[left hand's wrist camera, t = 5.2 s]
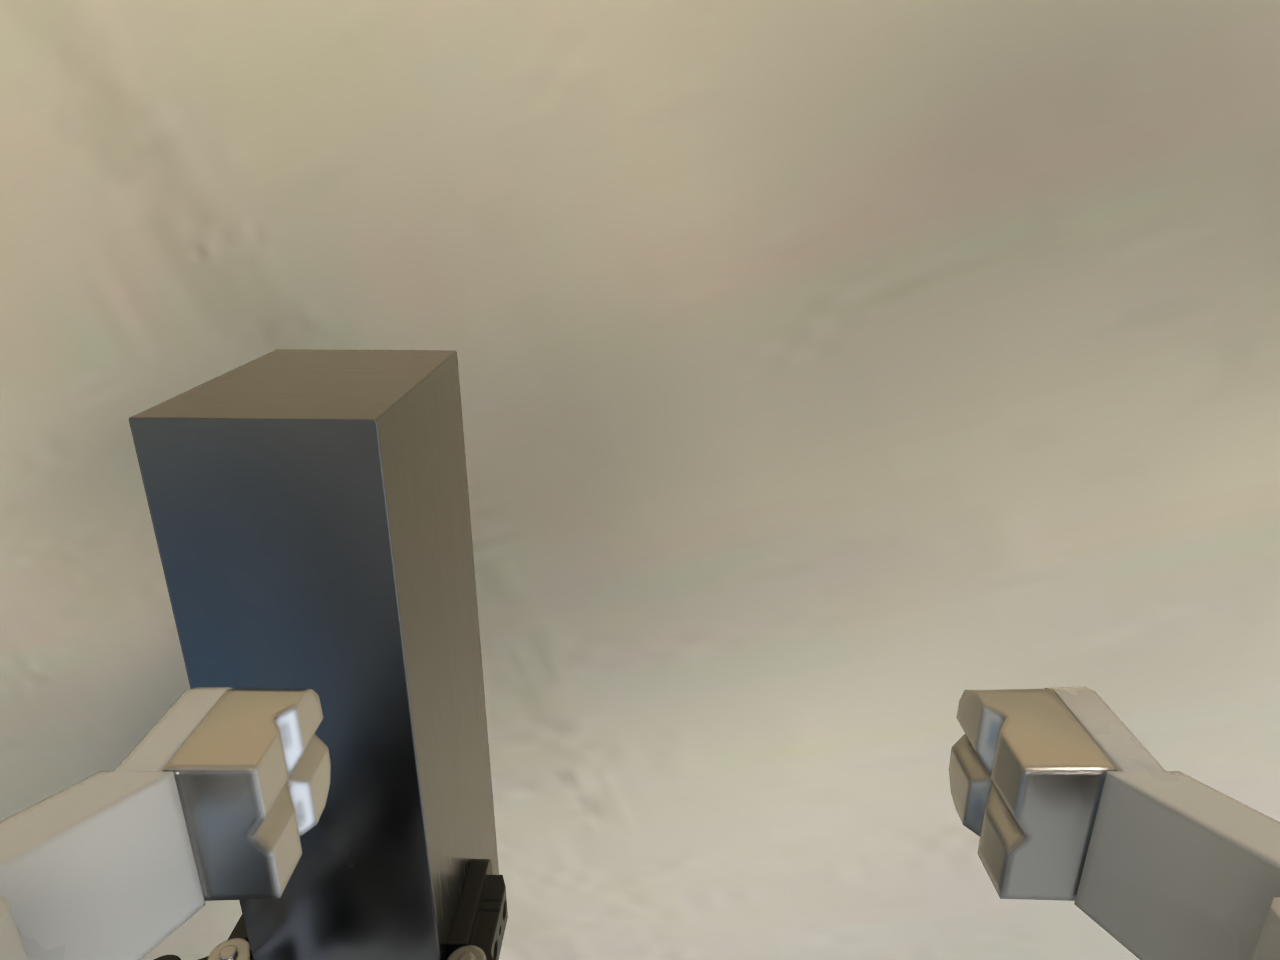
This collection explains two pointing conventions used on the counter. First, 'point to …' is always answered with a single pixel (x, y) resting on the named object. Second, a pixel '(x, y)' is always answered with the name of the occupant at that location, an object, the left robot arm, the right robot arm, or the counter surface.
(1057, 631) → the counter surface
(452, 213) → the counter surface
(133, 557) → the counter surface
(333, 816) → the bar
